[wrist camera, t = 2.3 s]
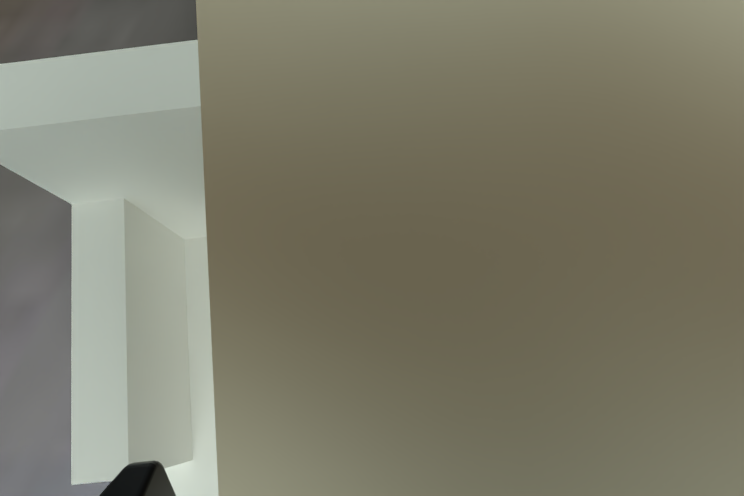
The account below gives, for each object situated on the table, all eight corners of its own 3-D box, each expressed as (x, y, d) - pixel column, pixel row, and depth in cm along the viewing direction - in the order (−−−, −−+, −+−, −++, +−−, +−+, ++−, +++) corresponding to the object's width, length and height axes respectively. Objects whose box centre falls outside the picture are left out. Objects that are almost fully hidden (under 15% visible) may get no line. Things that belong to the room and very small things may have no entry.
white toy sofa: (784, 510, 17) (1177, 633, 8) (164, 569, 18) (-79, 741, 9) (703, 149, 19) (945, -54, 11) (155, 212, 20) (-48, 69, 11)
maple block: (558, 443, 17) (1003, 593, 4) (364, 462, 17) (225, 663, 4) (528, 253, 18) (808, -84, 5) (346, 273, 18) (196, -6, 5)
